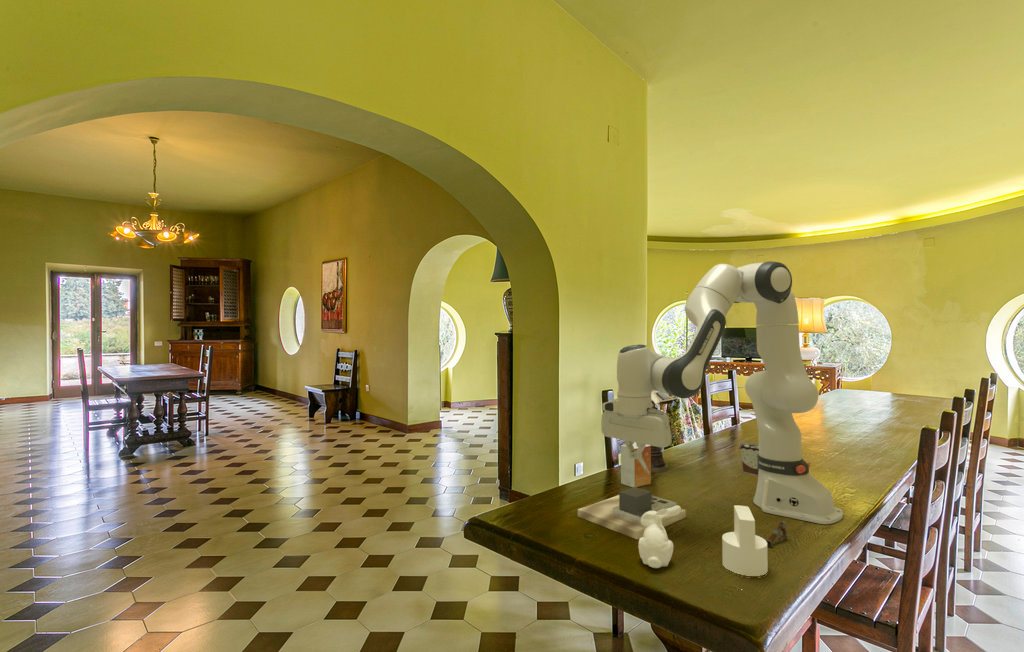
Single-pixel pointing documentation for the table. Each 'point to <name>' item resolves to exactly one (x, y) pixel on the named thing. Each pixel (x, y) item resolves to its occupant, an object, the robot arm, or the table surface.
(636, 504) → the plug
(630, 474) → the small box
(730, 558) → the cylinder with rectangular tab
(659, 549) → the rabbit
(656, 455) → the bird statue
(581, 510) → the board
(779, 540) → the wooden post with brackets
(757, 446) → the food container
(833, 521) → the robot arm
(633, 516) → the socket
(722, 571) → the table surface
